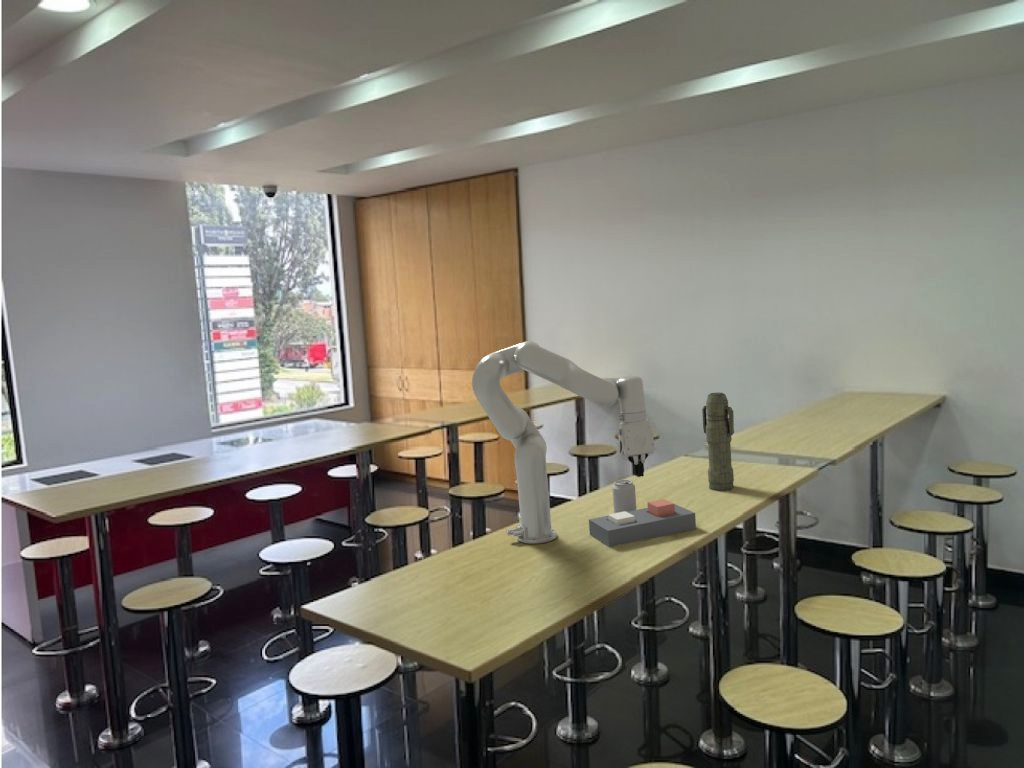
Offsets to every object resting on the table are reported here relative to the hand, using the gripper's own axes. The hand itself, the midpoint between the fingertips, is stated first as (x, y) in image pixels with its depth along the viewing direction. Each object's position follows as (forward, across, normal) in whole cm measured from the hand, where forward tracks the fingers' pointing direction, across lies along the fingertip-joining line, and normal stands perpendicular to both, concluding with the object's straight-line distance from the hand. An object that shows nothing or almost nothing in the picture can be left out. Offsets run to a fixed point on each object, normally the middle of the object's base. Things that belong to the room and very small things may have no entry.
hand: (639, 475), depth 220 cm
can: (+18, +2, +17) cm, 25 cm away
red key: (+14, +7, +1) cm, 16 cm away
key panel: (+18, 0, +1) cm, 18 cm away
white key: (+15, -7, 0) cm, 17 cm away
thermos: (+19, +47, +28) cm, 58 cm away
